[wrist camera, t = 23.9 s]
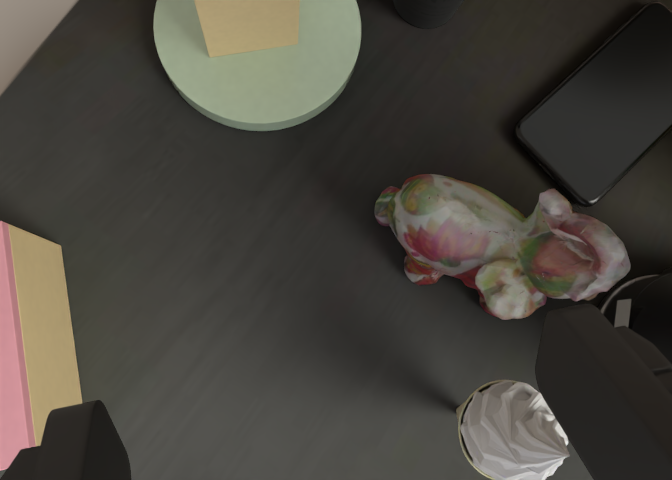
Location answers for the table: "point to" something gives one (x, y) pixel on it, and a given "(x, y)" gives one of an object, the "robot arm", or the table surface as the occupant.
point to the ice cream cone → (510, 432)
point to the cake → (33, 340)
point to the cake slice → (247, 24)
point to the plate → (261, 66)
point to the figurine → (501, 244)
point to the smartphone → (606, 109)
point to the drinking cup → (427, 11)
